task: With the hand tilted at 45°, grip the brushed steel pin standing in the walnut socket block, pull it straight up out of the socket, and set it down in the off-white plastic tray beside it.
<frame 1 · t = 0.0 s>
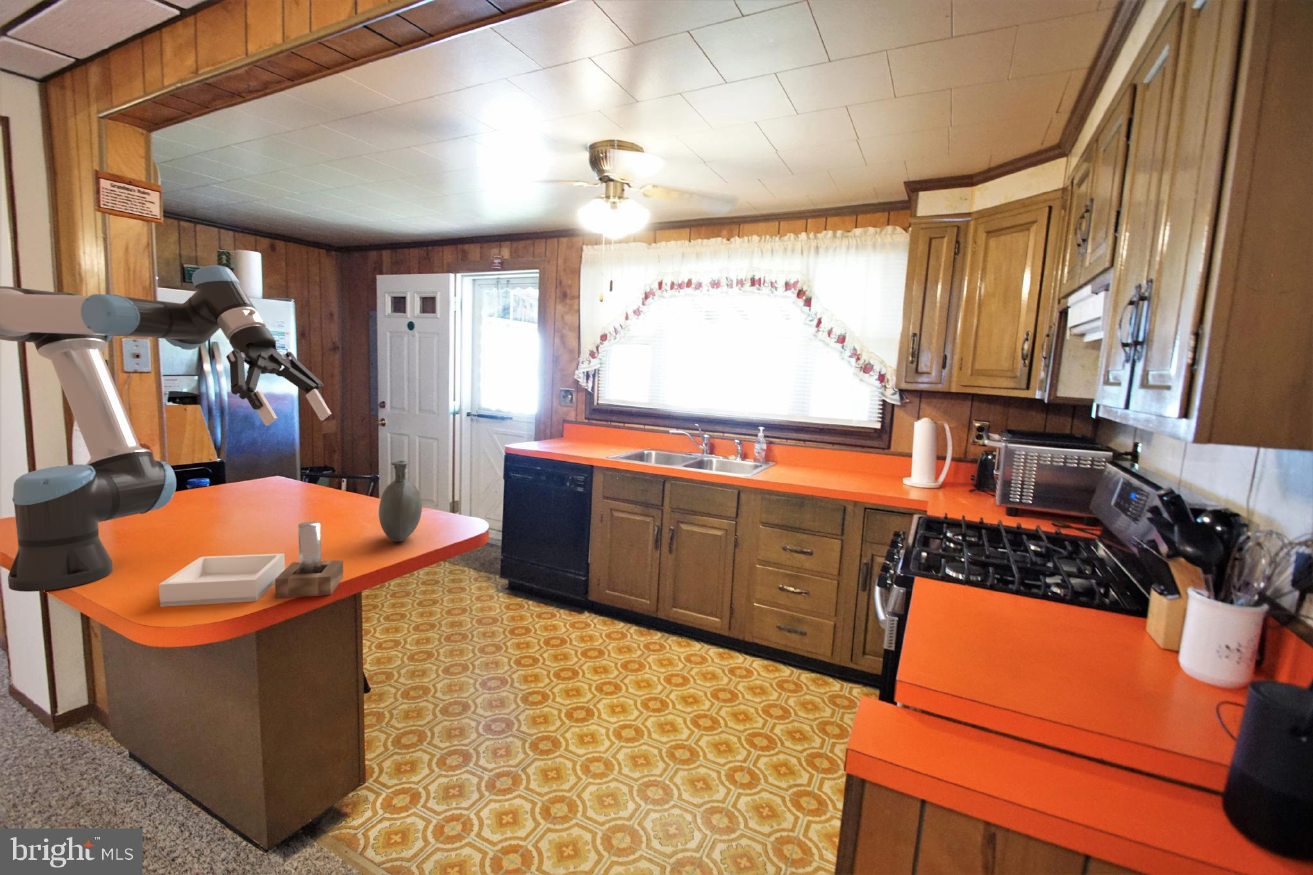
hand: (300, 419, 117), 36 cm above the counter, tool tilted 35°, fingers open, 13 cm apart
tray: (227, 588, 118), on the counter
steel pin: (310, 555, 119), in the socket block
socket block: (311, 587, 120), on the counter
flask: (401, 540, 154), on the counter
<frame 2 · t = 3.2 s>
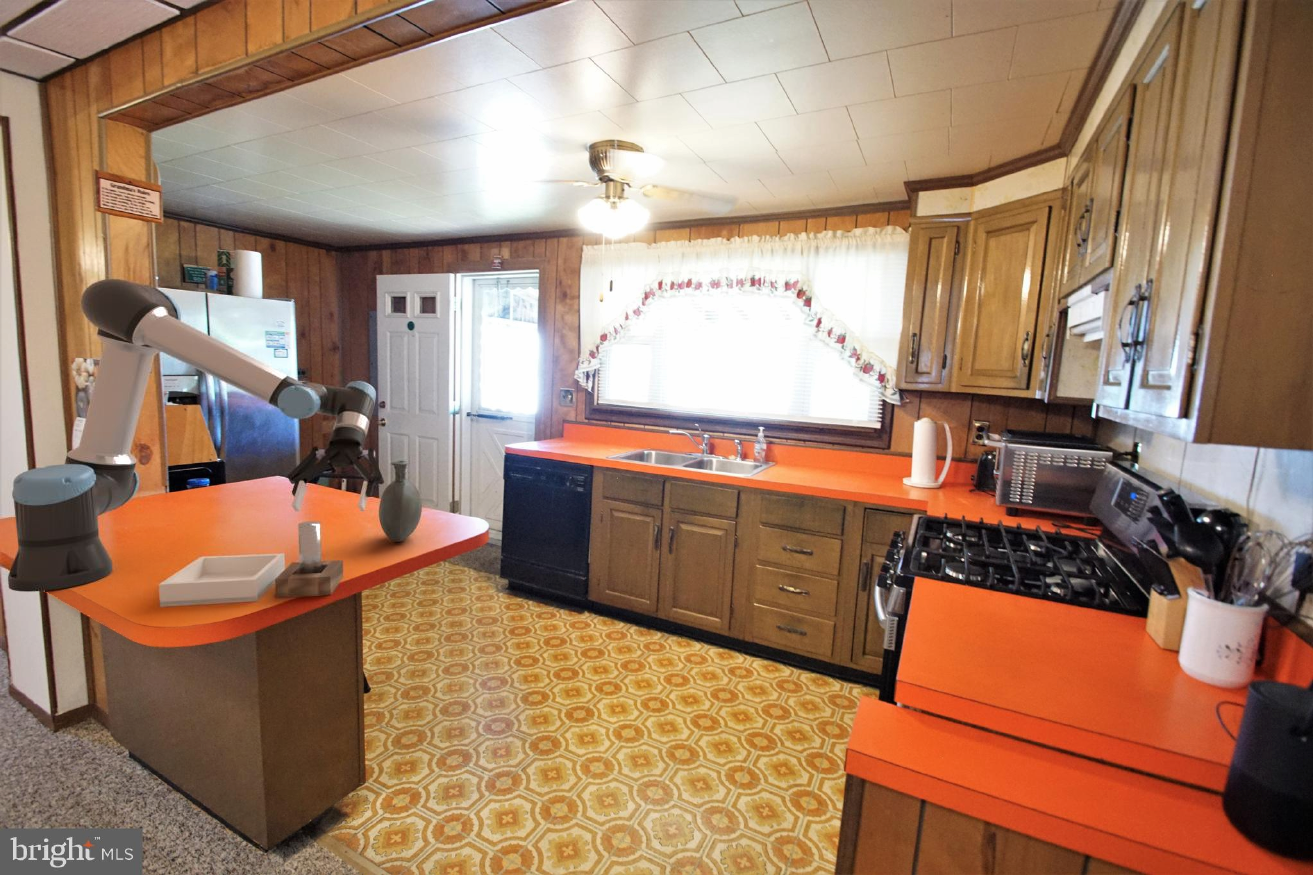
hand: (328, 508, 127), 15 cm above the counter, tool tilted 45°, fingers open, 13 cm apart
nothing on the counter moved.
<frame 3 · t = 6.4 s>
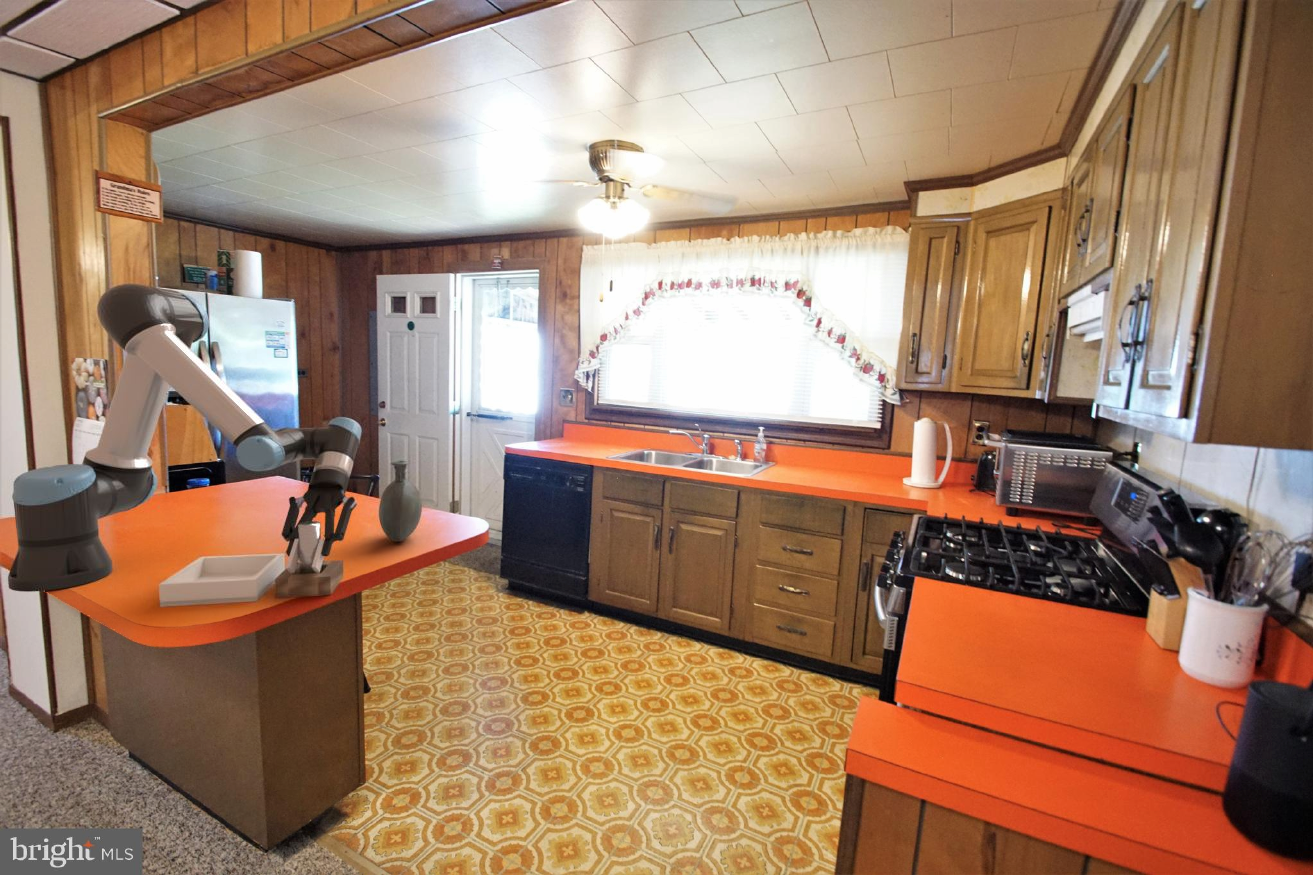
hand: (302, 569, 116), 5 cm above the counter, tool tilted 45°, fingers closed on socket block, 4 cm apart
nothing on the counter moved.
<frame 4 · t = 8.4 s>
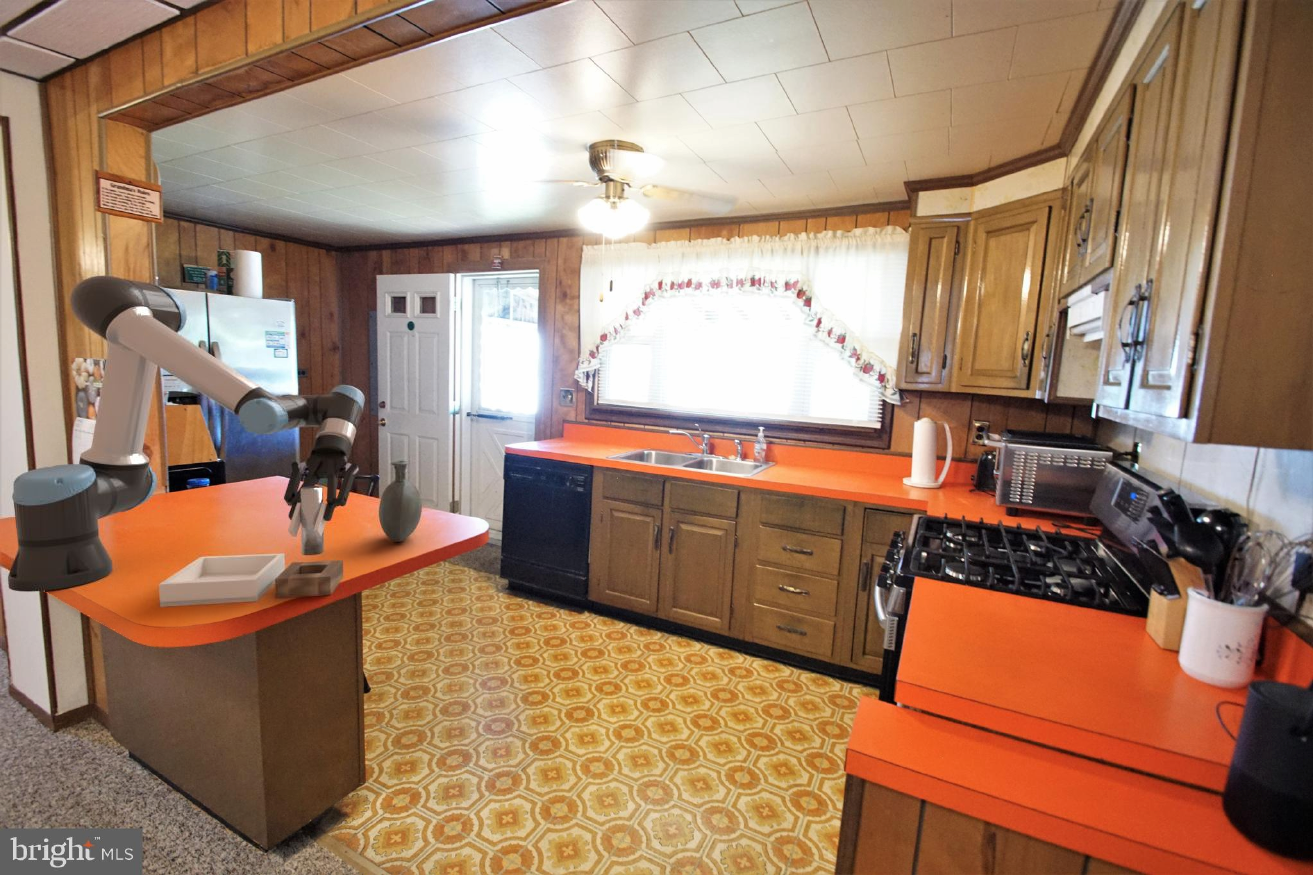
hand: (304, 533, 115), 13 cm above the counter, tool tilted 45°, fingers closed on steel pin, 4 cm apart
steel pin: (312, 520, 118), point 15 cm above the counter, touching gripper
everything else where it was.
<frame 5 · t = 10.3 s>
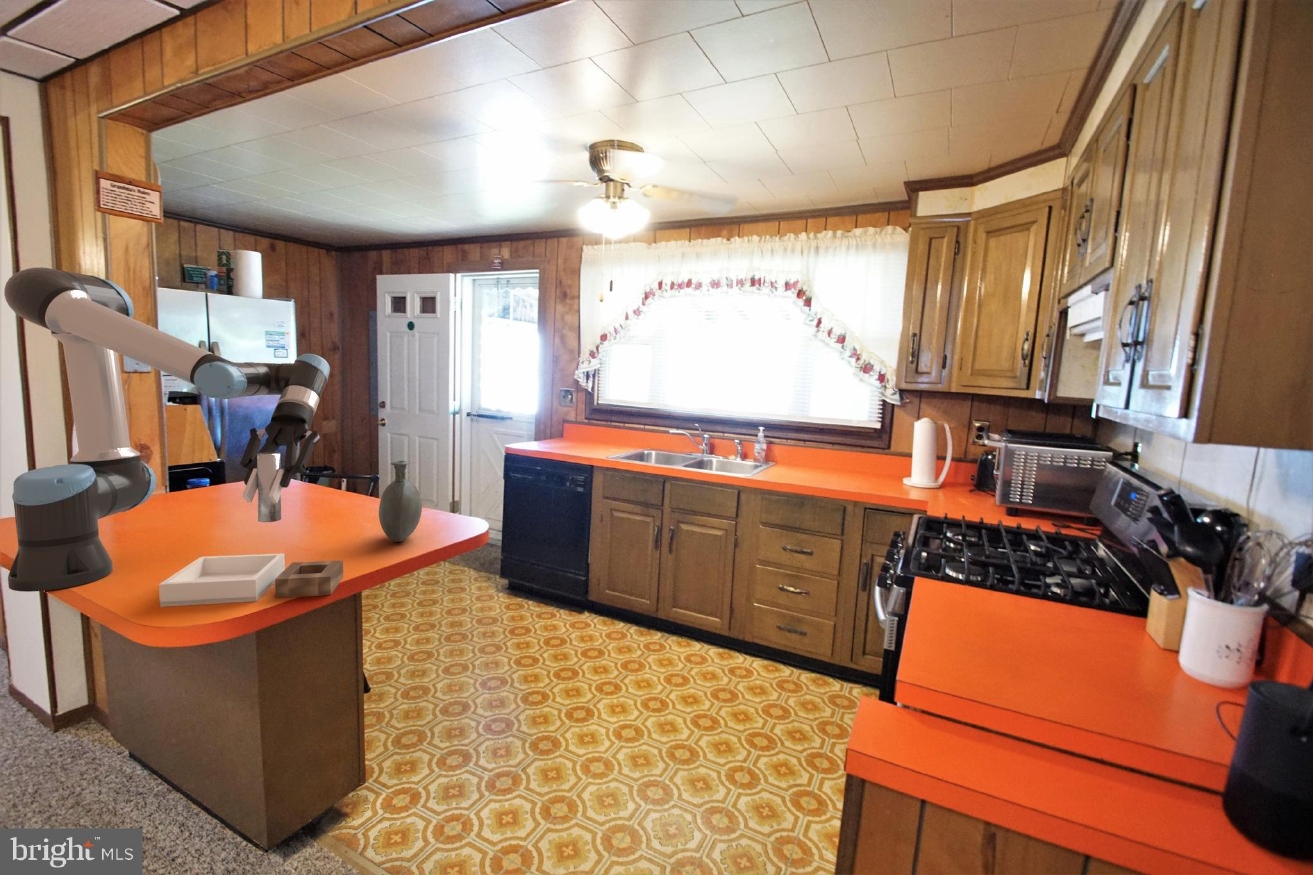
hand: (260, 499, 113), 20 cm above the counter, tool tilted 45°, fingers closed on steel pin, 4 cm apart
steel pin: (269, 486, 116), point 22 cm above the counter, touching gripper
everything else where it was.
when the fingers open (8 cm above the counter, at t = 13.5 s): steel pin drops 1 cm, resting on tray.
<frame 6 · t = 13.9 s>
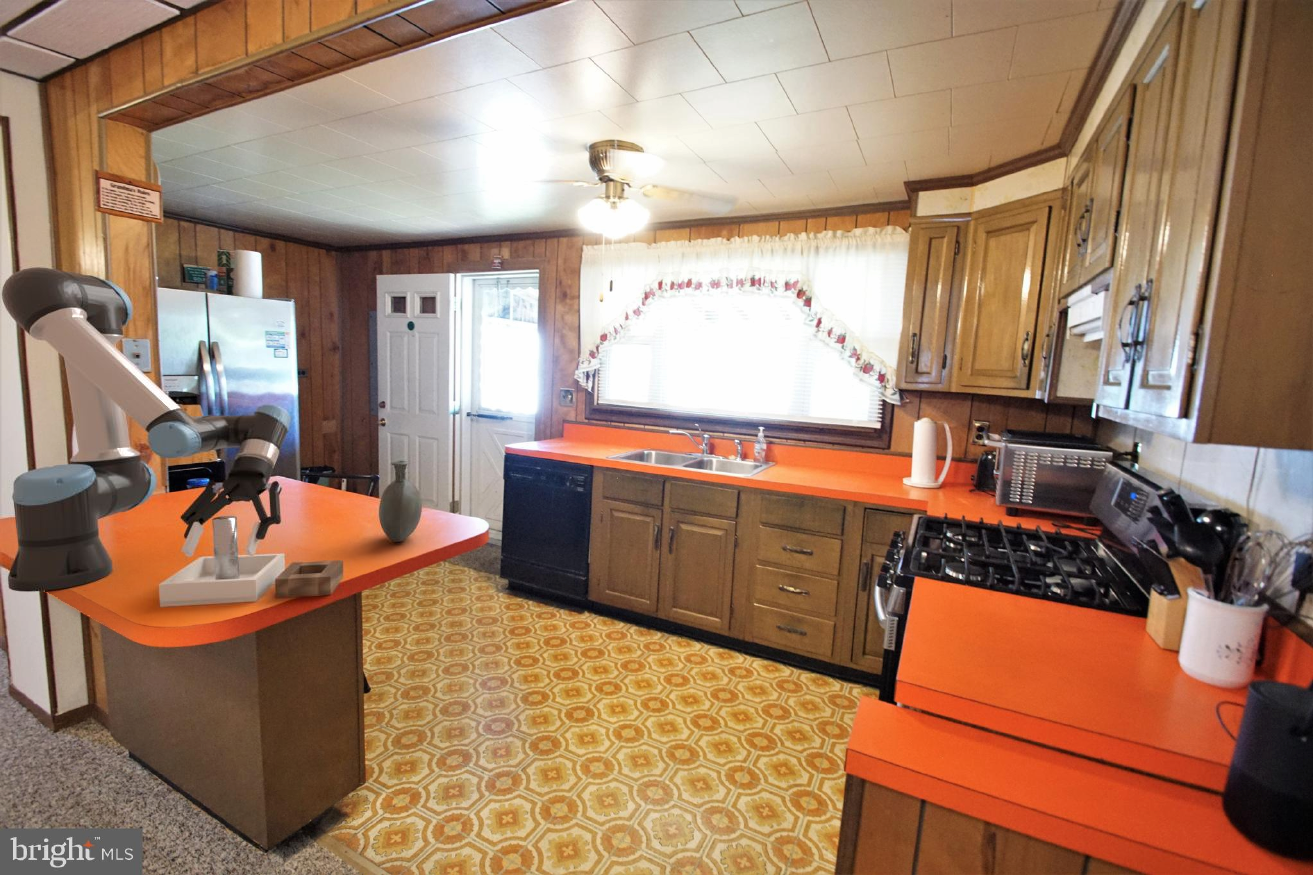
hand: (218, 553, 114), 9 cm above the counter, tool tilted 45°, fingers open, 10 cm apart
steel pin: (226, 551, 117), in the tray, point 8 cm above the counter
everything else where it was.
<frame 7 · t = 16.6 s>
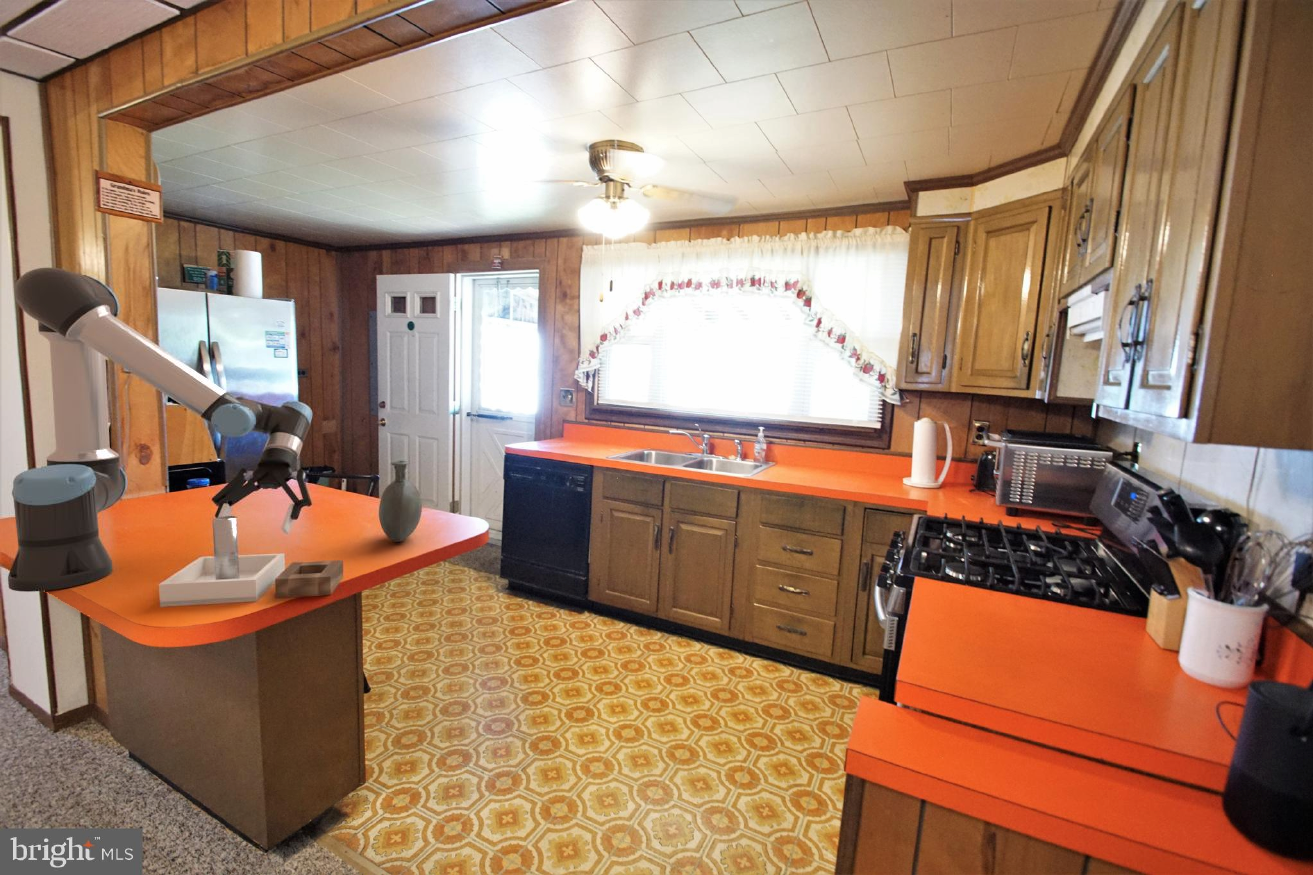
hand: (251, 531, 127), 9 cm above the counter, tool tilted 45°, fingers open, 13 cm apart
nothing on the counter moved.
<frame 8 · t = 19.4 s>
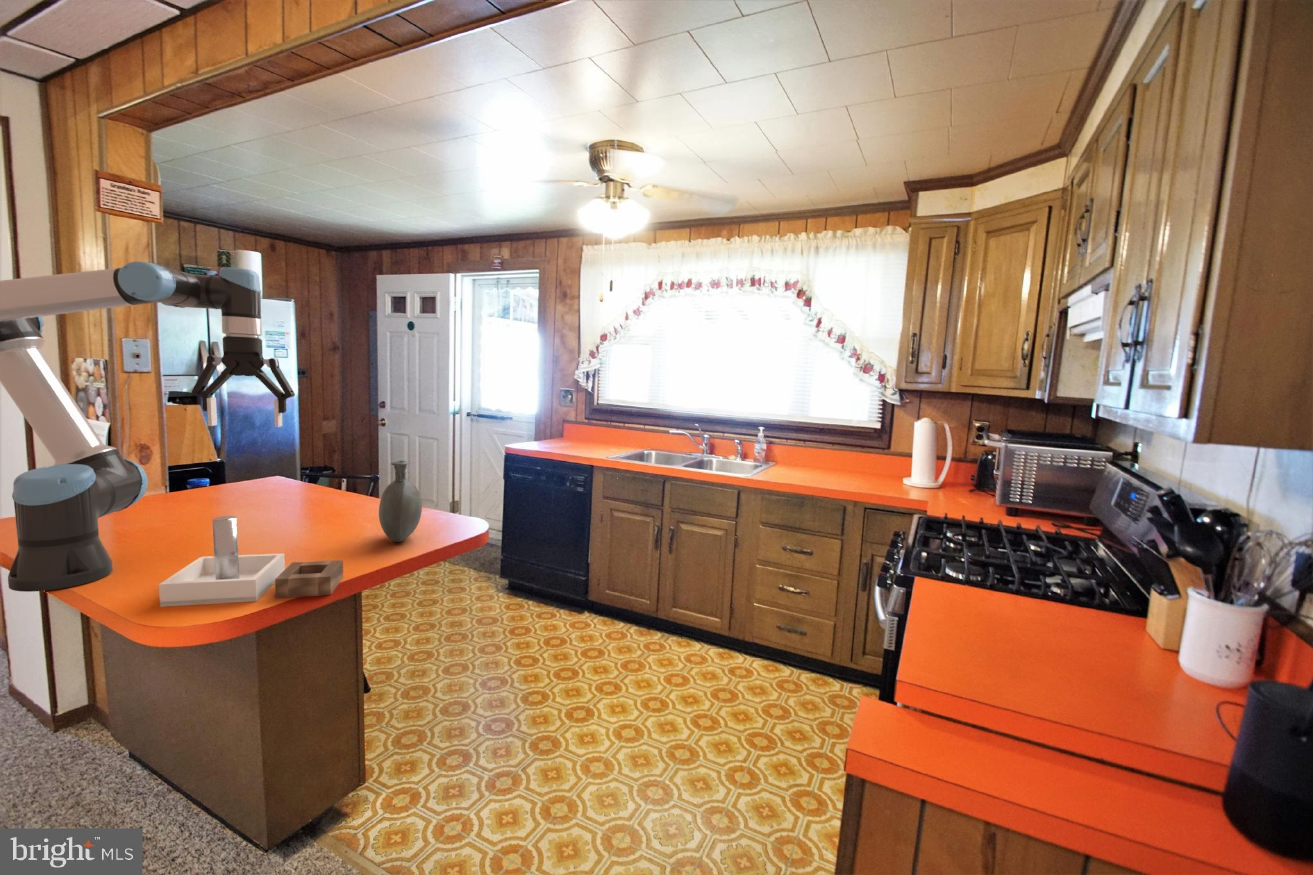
hand: (246, 426, 135), 32 cm above the counter, tool pointing down, fingers open, 13 cm apart
nothing on the counter moved.
at the end: steel pin inside the target area on the tray (0.0 cm from its centre), point 8.0 cm above the tray's base; the gripper is holding nothing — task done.
